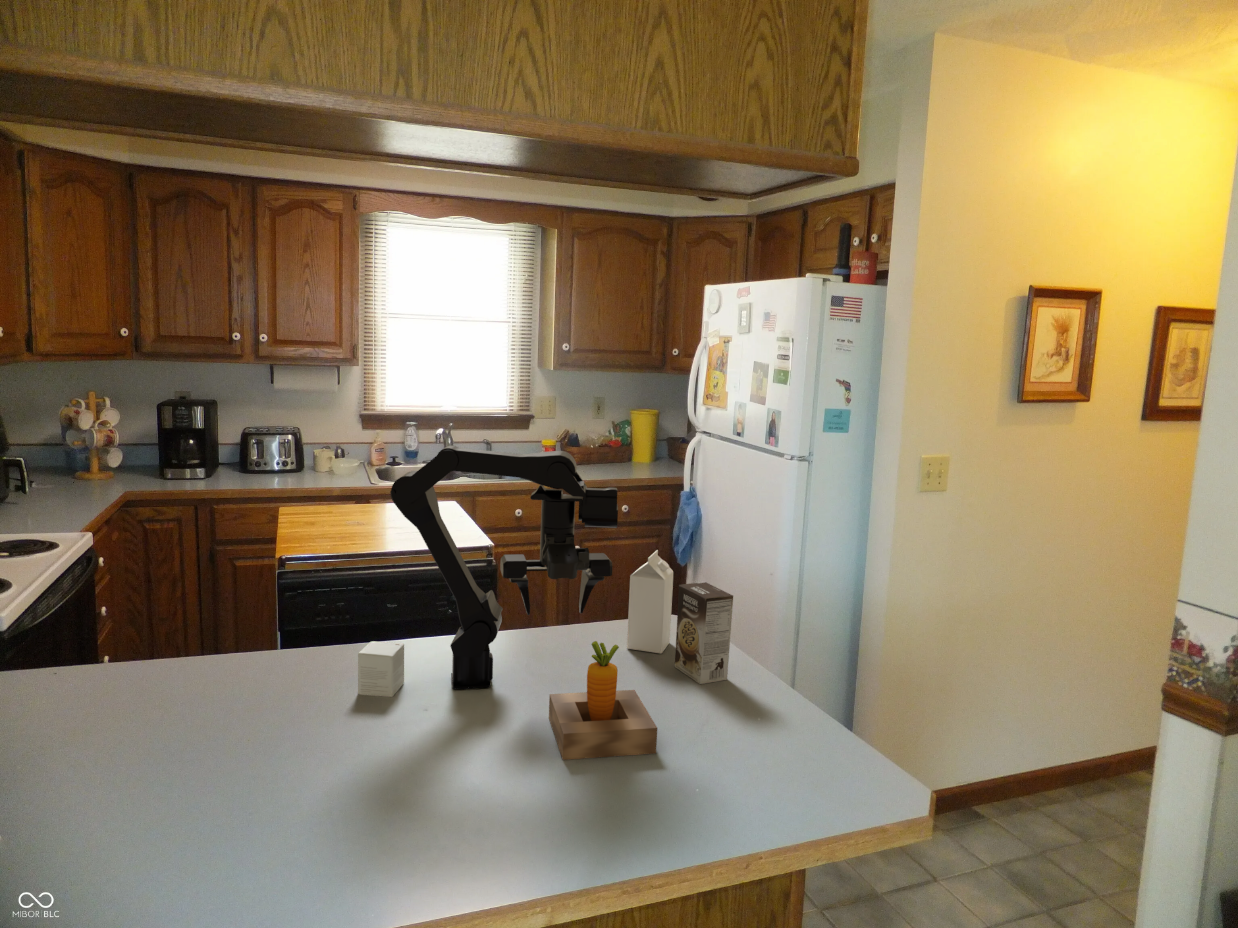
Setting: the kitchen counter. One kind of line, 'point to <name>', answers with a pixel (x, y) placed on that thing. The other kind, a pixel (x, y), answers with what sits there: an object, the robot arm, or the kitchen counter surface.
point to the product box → (380, 669)
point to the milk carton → (650, 606)
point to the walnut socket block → (601, 727)
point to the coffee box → (703, 632)
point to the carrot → (601, 683)
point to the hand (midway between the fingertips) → (554, 613)
